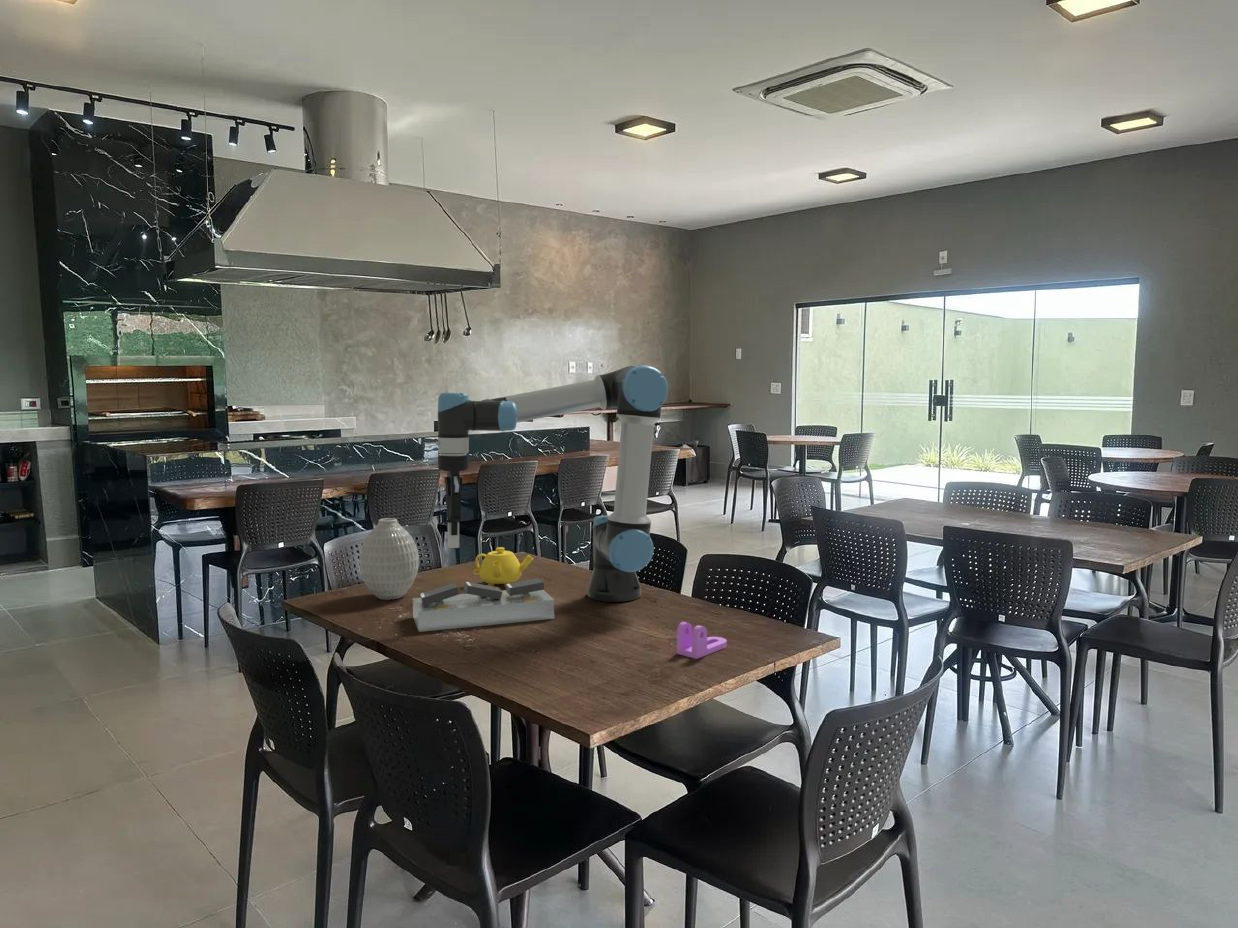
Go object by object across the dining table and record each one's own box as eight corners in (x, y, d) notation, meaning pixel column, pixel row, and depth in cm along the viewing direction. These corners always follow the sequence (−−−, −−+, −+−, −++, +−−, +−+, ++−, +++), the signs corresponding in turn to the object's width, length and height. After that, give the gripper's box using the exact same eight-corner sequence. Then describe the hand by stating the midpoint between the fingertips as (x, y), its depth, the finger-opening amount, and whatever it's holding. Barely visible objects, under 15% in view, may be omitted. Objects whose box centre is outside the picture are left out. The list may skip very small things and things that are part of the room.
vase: (431, 594, 245) (429, 517, 243) (388, 606, 232) (385, 525, 229) (392, 587, 254) (389, 513, 252) (348, 599, 240) (345, 520, 238)
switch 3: (539, 585, 227) (538, 577, 227) (544, 589, 222) (543, 581, 222) (506, 591, 224) (505, 583, 224) (510, 596, 220) (509, 588, 219)
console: (541, 605, 232) (540, 584, 232) (554, 618, 219) (553, 596, 219) (413, 617, 221) (412, 595, 221) (418, 631, 208) (418, 609, 208)
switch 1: (456, 589, 220) (454, 582, 220) (459, 594, 215) (456, 586, 215) (421, 601, 217) (419, 593, 217) (424, 605, 213) (421, 598, 212)
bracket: (696, 659, 187) (696, 628, 186) (676, 654, 191) (676, 623, 190) (731, 645, 196) (731, 616, 196) (711, 640, 200) (712, 611, 199)
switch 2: (496, 594, 224) (498, 587, 224) (500, 599, 219) (502, 591, 219) (463, 589, 220) (465, 581, 220) (466, 593, 216) (468, 585, 216)
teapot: (495, 592, 247) (495, 554, 246) (468, 584, 257) (468, 548, 256) (535, 584, 257) (534, 547, 256) (507, 577, 267) (507, 541, 266)
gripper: (435, 452, 219) (435, 543, 221) (441, 456, 207) (441, 552, 209) (464, 452, 221) (464, 542, 224) (472, 456, 209) (472, 551, 211)
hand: (453, 547), depth 216 cm, fingers closed
